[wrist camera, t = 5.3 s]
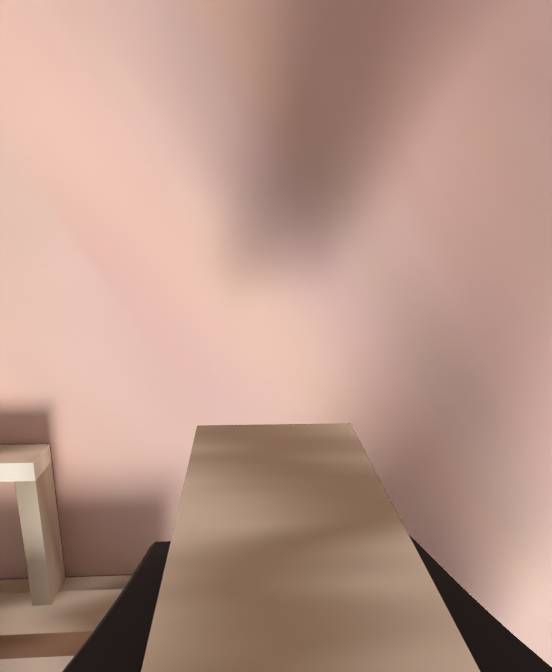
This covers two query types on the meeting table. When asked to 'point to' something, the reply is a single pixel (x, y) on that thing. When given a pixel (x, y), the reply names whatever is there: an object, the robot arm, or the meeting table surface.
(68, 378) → the meeting table surface
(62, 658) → the lid
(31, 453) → the cream rectangular tray
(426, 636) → the cream rectangular block
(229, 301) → the meeting table surface
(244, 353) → the meeting table surface
